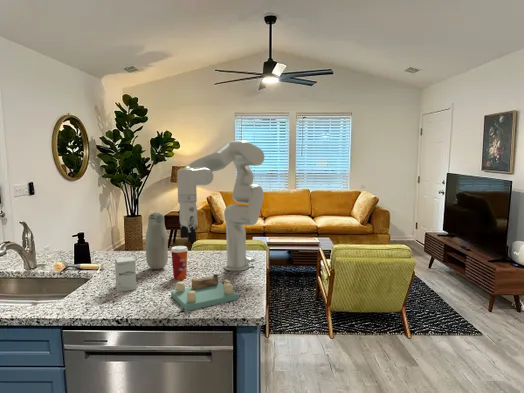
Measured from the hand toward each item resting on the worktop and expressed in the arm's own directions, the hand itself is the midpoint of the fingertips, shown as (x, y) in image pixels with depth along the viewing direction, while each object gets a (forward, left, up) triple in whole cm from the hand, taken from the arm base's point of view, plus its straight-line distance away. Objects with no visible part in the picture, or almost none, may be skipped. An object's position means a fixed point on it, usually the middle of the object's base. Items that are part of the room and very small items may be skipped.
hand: (188, 239), depth 151 cm
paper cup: (-1, -16, -21) cm, 26 cm away
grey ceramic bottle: (+4, -35, -21) cm, 41 cm away
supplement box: (+23, -14, -21) cm, 34 cm away
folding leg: (-4, +7, -18) cm, 20 cm away
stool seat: (-1, +13, -21) cm, 25 cm away
